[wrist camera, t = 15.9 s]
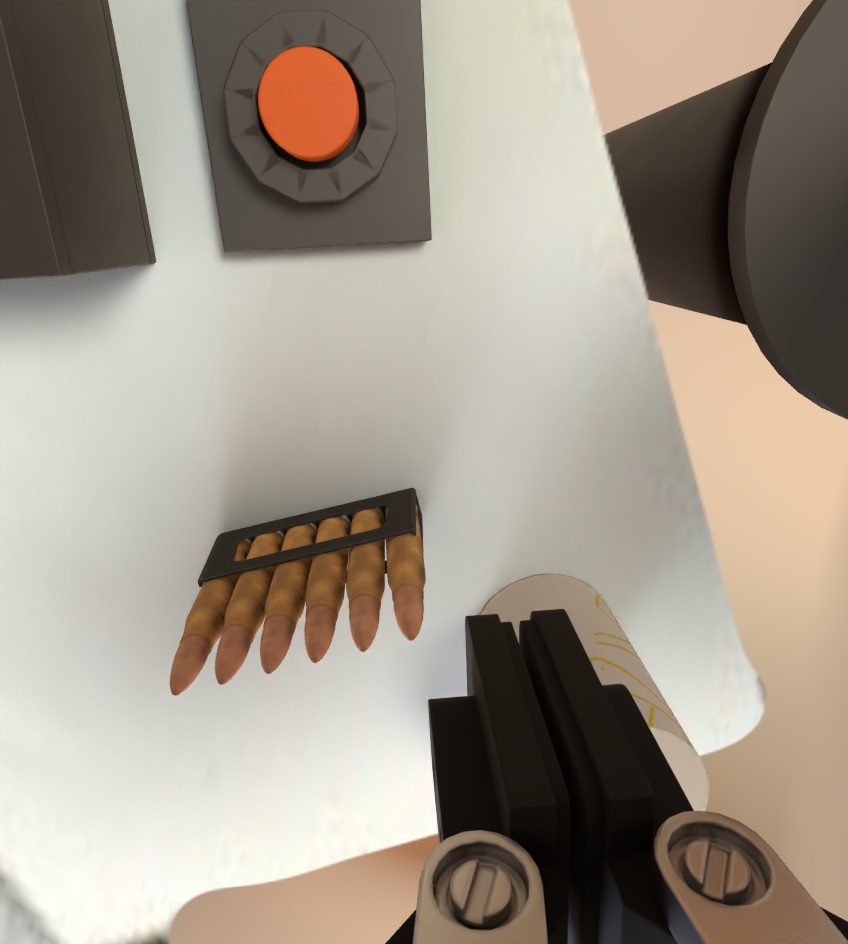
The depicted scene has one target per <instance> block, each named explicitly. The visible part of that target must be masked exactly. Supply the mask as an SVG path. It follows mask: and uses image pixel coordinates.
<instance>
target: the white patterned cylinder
mask: <svg viewBox="0 0 848 944" xmlns="http://www.w3.org/2000/svg"><path fill="white" fill-rule="evenodd" d="M552 609H565V611H566V612H567V614H568V616H569V618H570V620H571V622H572V624H573V626H574V628H575V631H576V633H577V635H578V637H579V639H580V641H581V643H582V645H583V647H584V649H585V651H586V653H587V655H588V657H589V659H590V661H591V663H592V665H593V667H594V670H595V672H596V674H597V676H598V678H599V680H600V682H601V684H602V685H610V684H623V685H625V686H626V687H627V689H628V690H629V691H630V693H631V695H632V697H633V699H634V700H635V702H636V704H637V706H638V708H639V710H640V712H641V713H642V715H643V717H644V719H645V721H646V723H647V724H648V726H649V728H650V730H651V732H652V734H653V736H654V737H655V739H656V741H657V743H658V745H659V747H660V749H661V750H662V752H663V754H664V756H665V758H666V760H667V761H668V763H669V765H670V767H671V769H672V771H673V773H674V774H675V776H676V778H677V780H678V782H679V784H680V786H681V787H682V789H683V791H684V793H685V795H686V797H687V799H688V800H689V802H690V804H691V806H692V808H693V810H694V811H705V810H706V807H707V803H708V798H709V781H708V776H707V772H706V769H705V766H704V764H703V763H702V761H701V759H700V757H699V755H698V754H697V752H696V750H695V749H694V747H693V746H692V744H691V742H690V741H689V739H688V737H687V736H686V734H685V732H684V731H683V729H682V727H681V726H680V724H679V722H678V721H677V719H676V717H675V716H674V714H673V713H672V711H671V709H670V708H669V706H668V704H667V703H666V701H665V699H664V698H663V696H662V694H661V693H660V691H659V689H658V688H657V686H656V685H655V683H654V681H653V680H652V678H651V676H650V675H649V673H648V671H647V670H646V668H645V666H644V665H643V663H642V661H641V660H640V658H639V656H638V655H637V653H636V652H635V650H634V648H633V647H632V645H631V643H630V642H629V640H628V638H627V637H626V635H625V633H624V632H623V630H622V628H621V627H620V625H619V624H618V622H617V620H616V619H615V617H614V615H613V614H612V612H611V610H610V609H609V607H608V605H607V604H606V602H605V601H604V599H603V598H602V597H601V595H600V594H599V593H598V592H597V591H596V590H595V589H593V588H592V587H591V586H589V585H588V584H586V583H584V582H582V581H580V580H578V579H575V578H572V577H569V576H564V575H556V574H545V575H536V576H531V577H528V578H524V579H522V580H519V581H517V582H514V583H513V584H511V585H509V586H507V587H506V588H504V589H503V590H501V591H500V592H499V593H497V594H496V595H495V596H494V597H493V598H492V599H491V600H490V601H489V602H488V604H487V605H486V606H485V608H484V609H483V611H482V612H481V614H480V615H487V614H498V615H499V618H500V621H501V622H509V621H511V622H512V625H513V628H514V631H515V634H516V637H517V639H518V642H519V624H520V621H522V620H530V614H531V612H532V611H539V610H552Z"/></svg>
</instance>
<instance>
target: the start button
mask: <svg viewBox="0 0 848 944" xmlns="http://www.w3.org/2000/svg"><path fill="white" fill-rule="evenodd" d="M258 106H259V112H260V116H261V119H262V122H263V124H264V126H265V128H266V130H267V132H268V133H269V135H270V136H271V137H272V139H273V140H274V141H275V142H276V143H277V144H278V145H279V146H280V147H282V148H283V149H284V150H285V151H286V152H288V153H289V154H291V155H292V156H294V157H296V158H298V159H301V160H304V161H309V162H321V161H326V160H329V159H332V158H334V157H336V156H337V155H339V154H340V153H341V152H343V151H344V150H345V149H346V148H347V146H348V145H349V144H350V142H351V141H352V139H353V137H354V135H355V132H356V130H357V126H358V120H359V106H358V99H357V93H356V90H355V86H354V83H353V81H352V79H351V77H350V75H349V73H348V71H347V70H346V69H345V67H344V66H343V65H342V64H341V63H340V61H338V60H337V59H336V58H335V57H334V56H332V55H331V54H329V53H328V52H326V51H324V50H321V49H318V48H315V47H309V46H300V47H294V48H291V49H288V50H286V51H284V52H282V53H280V54H279V55H278V56H276V57H275V58H274V59H273V60H272V61H271V62H270V64H269V65H268V66H267V68H266V69H265V71H264V73H263V76H262V78H261V81H260V85H259V90H258Z"/></svg>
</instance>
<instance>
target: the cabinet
mask: <svg viewBox="0 0 848 944" xmlns="http://www.w3.org/2000/svg"><path fill="white" fill-rule="evenodd" d="M155 262H156V258H155V253H154V247H153V242H152V237H151V231H150V226H149V220H148V215H147V210H146V204H145V199H144V193H143V188H142V183H141V177H140V172H139V166H138V161H137V156H136V150H135V145H134V139H133V134H132V129H131V123H130V118H129V112H128V107H127V102H126V96H125V91H124V85H123V80H122V75H121V69H120V64H119V58H118V53H117V48H116V42H115V37H114V31H113V26H112V21H111V15H110V10H109V4H108V0H0V280H6V279H23V278H40V277H57V276H66V275H73V274H80V273H87V272H94V271H101V270H108V269H115V268H123V267H130V266H137V265H144V264H151V263H155Z"/></svg>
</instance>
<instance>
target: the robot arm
mask: <svg viewBox="0 0 848 944" xmlns="http://www.w3.org/2000/svg"><path fill="white" fill-rule="evenodd" d="M465 633H466V663H467V693H468V696H463V697H451V698H439V699H429V700H428V705H429V724H430V740H431V755H432V768H433V780H434V792H435V802H436V813H437V823H438V833H439V843H440V844H439V845H438V846H437V847H435V848H434V849H433V851H432V852H431V854H430V855H429V856H428V858H427V859H426V861H425V862H424V865H423V869H422V872H421V876H420V880H419V889H418V898H417V909H416V910H415V911H414V912H413V913H412V915H411V916H410V917H409V918H408V919H407V920H406V921H405V922H404V923H403V925H402V926H401V927H400V928H399V929H398V930H397V931H396V932H395V934H394V935H393V936H392V937H391V938H390V939H389V940H388V941H387V942H386V943H385V944H848V922H847V921H845V920H843V919H842V918H840V917H838V916H836V915H834V914H832V913H830V912H829V911H827V910H825V909H823V908H821V907H820V906H819V905H818V904H817V903H816V902H815V900H814V899H813V898H812V897H811V895H810V894H809V893H808V892H807V890H806V889H805V888H804V887H803V886H802V884H801V883H800V882H799V881H798V879H797V878H796V877H795V876H794V875H793V873H792V872H791V871H790V870H789V868H788V867H787V866H786V865H785V863H784V862H783V861H782V860H781V859H780V857H779V856H778V855H777V854H776V852H775V851H774V850H773V849H772V848H771V847H770V846H769V845H768V844H767V843H766V842H765V841H764V840H763V839H762V838H761V837H760V836H759V835H758V834H757V833H756V832H755V831H753V830H752V829H750V828H748V827H747V826H745V825H744V824H742V823H741V822H739V821H737V820H734V819H732V818H729V817H727V816H724V815H722V814H719V813H712V812H706V811H694V810H693V808H692V806H691V804H690V802H689V800H688V799H687V797H686V795H685V793H684V791H683V789H682V787H681V786H680V784H679V782H678V780H677V778H676V776H675V774H674V773H673V771H672V769H671V767H670V765H669V763H668V761H667V760H666V758H665V756H664V754H663V752H662V750H661V749H660V747H659V745H658V743H657V741H656V739H655V737H654V736H653V734H652V732H651V730H650V728H649V726H648V724H647V723H646V721H645V719H644V717H643V715H642V713H641V712H640V710H639V708H638V706H637V704H636V702H635V700H634V699H633V697H632V695H631V693H630V691H629V690H628V689H627V687H626V686H625V685H623V684H610V685H602V684H601V682H600V680H599V678H598V676H597V674H596V672H595V670H594V667H593V665H592V663H591V661H590V659H589V657H588V655H587V653H586V651H585V649H584V647H583V645H582V643H581V641H580V639H579V637H578V635H577V633H576V631H575V628H574V626H573V624H572V622H571V620H570V618H569V616H568V614H567V612H566V611H565V609H552V610H539V611H532V612H531V614H530V620H522V621H520V624H519V642H518V639H517V637H516V634H515V631H514V628H513V625H512V622H511V621H509V622H501V621H500V618H499V615H498V614H487V615H475V616H466V618H465Z"/></svg>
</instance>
